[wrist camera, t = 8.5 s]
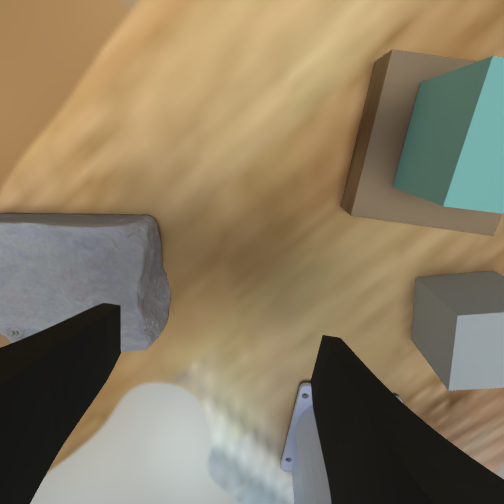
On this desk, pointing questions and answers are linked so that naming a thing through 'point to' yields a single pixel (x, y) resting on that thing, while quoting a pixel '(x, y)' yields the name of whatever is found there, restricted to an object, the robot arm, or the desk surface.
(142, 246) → the stone block
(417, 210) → the walnut base block
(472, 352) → the grey cube
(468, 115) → the teal cube
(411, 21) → the desk surface
